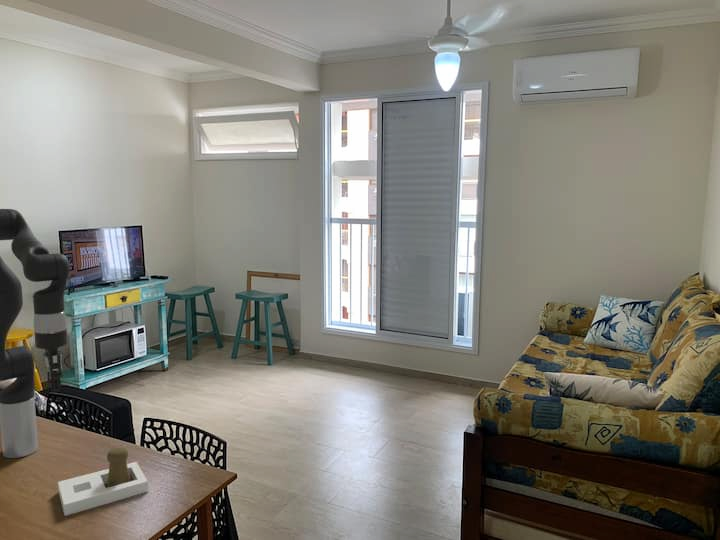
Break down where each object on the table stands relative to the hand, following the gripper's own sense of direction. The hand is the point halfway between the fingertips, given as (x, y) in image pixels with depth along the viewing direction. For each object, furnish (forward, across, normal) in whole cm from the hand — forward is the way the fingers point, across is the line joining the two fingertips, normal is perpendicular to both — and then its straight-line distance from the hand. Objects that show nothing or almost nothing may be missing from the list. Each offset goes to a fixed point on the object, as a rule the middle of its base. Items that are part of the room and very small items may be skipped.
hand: (54, 386), depth 144 cm
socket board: (+28, +11, +9) cm, 31 cm away
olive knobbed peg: (+28, +11, +13) cm, 33 cm away
